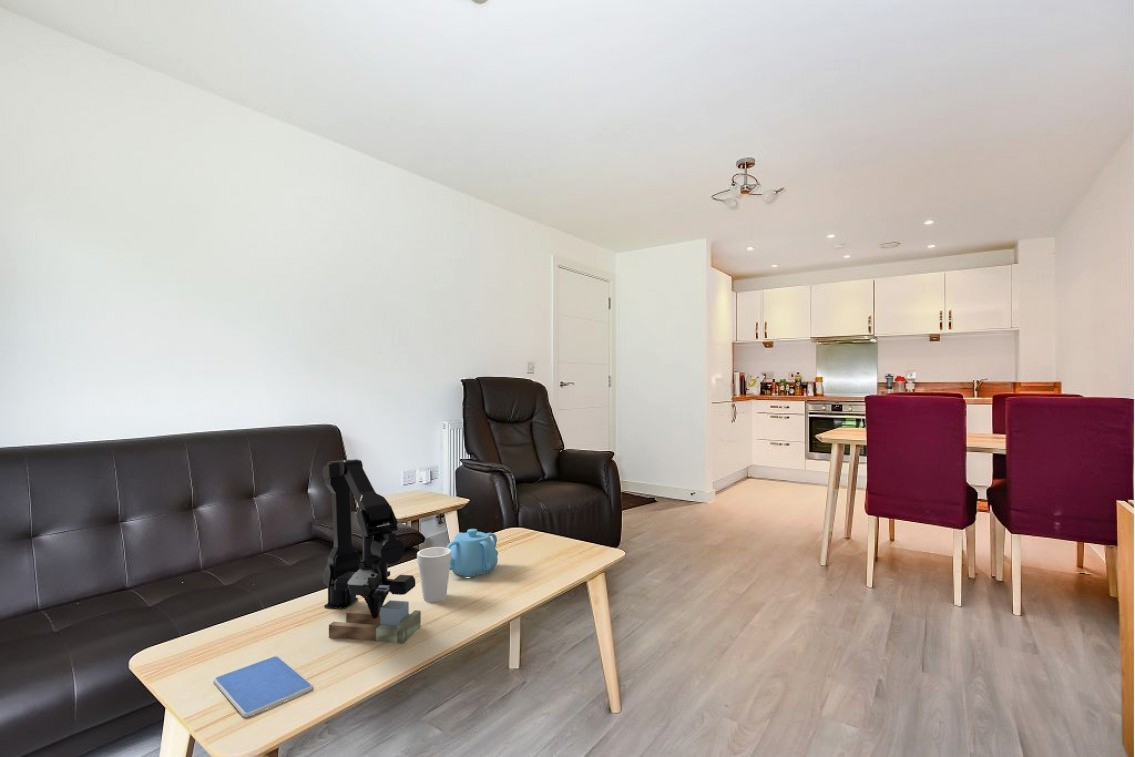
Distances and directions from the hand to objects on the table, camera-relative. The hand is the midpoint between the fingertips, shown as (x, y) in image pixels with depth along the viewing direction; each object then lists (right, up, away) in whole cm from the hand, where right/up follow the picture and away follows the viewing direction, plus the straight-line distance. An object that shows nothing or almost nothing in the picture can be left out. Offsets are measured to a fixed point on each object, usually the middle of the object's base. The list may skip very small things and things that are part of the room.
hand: (375, 617), depth 129 cm
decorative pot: (+16, -4, +42) cm, 45 cm away
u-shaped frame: (-1, -3, 0) cm, 3 cm away
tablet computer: (-15, -4, -23) cm, 27 cm away
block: (+5, -3, -1) cm, 6 cm away
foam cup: (+9, -4, +21) cm, 23 cm away
